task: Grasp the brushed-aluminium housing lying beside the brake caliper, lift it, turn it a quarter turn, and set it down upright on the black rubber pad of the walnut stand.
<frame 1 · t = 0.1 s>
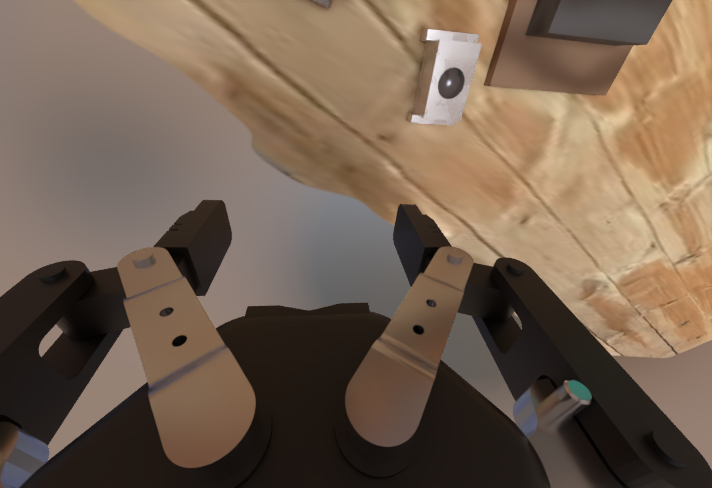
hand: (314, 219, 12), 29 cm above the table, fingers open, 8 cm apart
housing: (436, 80, 35), on the table
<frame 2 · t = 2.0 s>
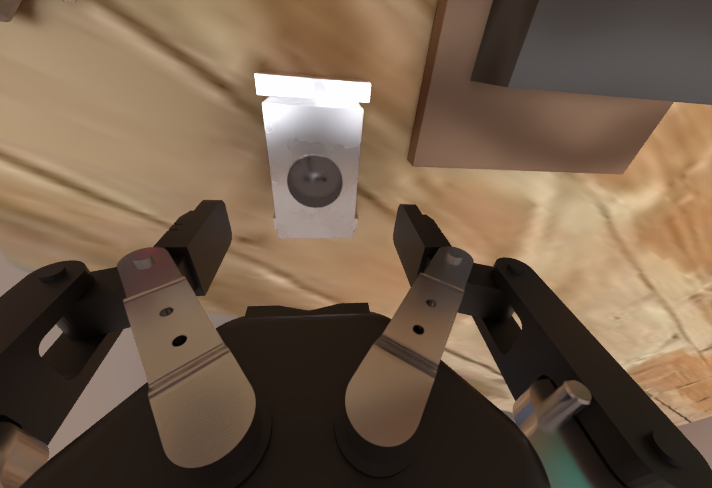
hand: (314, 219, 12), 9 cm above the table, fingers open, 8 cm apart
housing: (316, 155, 19), on the table
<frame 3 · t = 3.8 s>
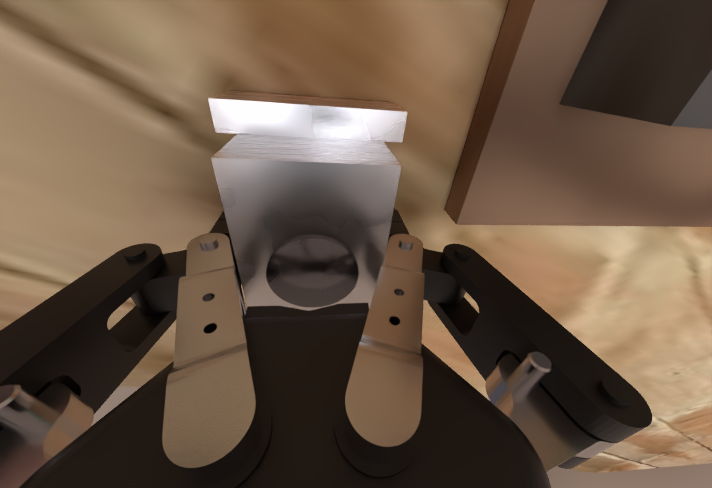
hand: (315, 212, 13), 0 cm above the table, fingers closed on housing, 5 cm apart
housing: (316, 208, 13), on the table, touching gripper
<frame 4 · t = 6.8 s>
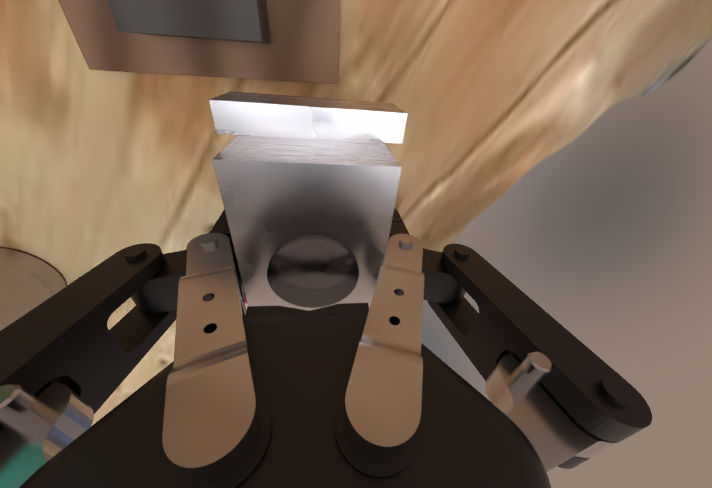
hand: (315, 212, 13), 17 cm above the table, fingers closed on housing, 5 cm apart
housing: (316, 208, 13), point 17 cm above the table, touching gripper
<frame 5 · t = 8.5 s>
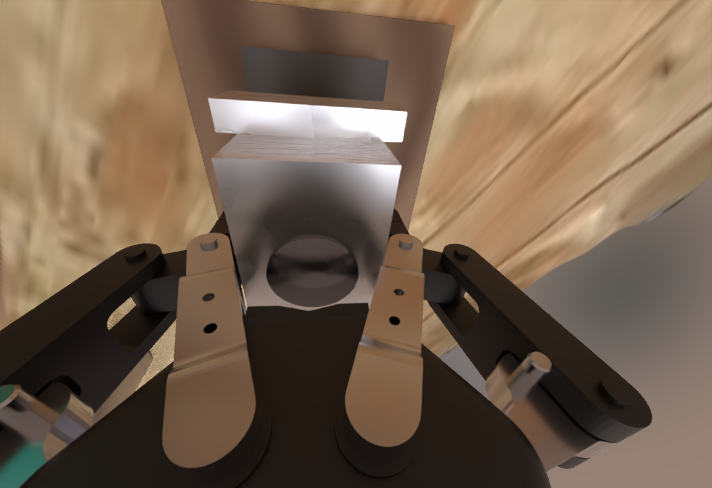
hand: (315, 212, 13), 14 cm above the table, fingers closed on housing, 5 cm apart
housing: (315, 207, 13), point 13 cm above the table, touching gripper
stand: (318, 140, 24), on the table
when the fingers open (7 cm above the table, at t = 10.0 s): housing drops 1 cm, resting on stand.
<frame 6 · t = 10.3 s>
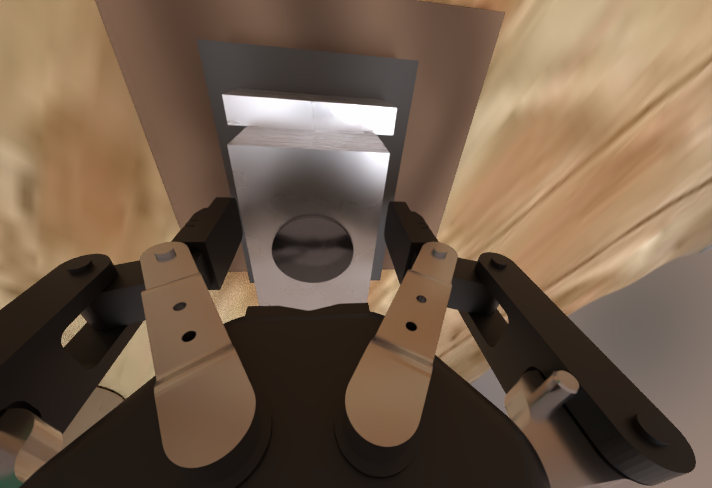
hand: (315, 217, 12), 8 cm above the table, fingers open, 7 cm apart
housing: (315, 197, 14), point 5 cm above the table, touching stand
stand: (317, 163, 19), on the table
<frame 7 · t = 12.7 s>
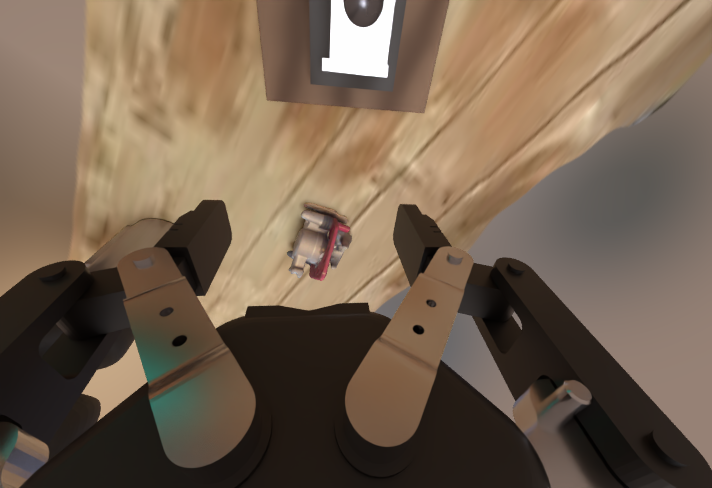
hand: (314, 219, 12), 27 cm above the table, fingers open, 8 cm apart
housing: (357, 8, 24), point 5 cm above the table, touching stand
brake caliper: (321, 232, 46), on the table
stand: (353, 13, 29), on the table
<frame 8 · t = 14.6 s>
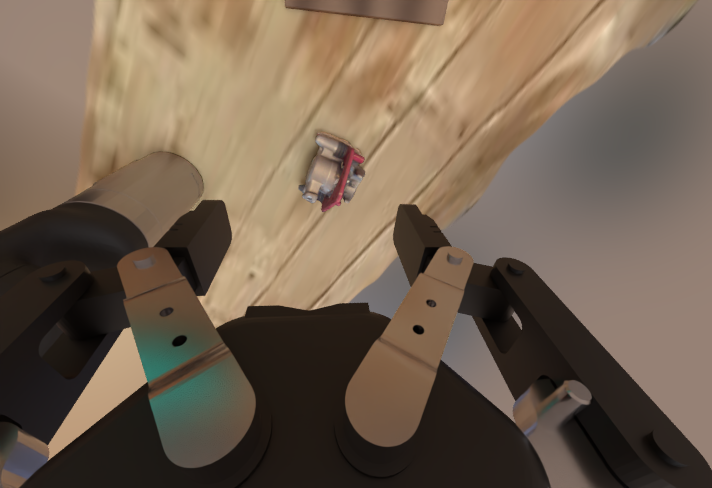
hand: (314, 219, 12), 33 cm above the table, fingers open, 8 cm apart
brake caliper: (333, 169, 45), on the table
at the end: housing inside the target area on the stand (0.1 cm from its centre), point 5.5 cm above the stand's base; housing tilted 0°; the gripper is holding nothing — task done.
